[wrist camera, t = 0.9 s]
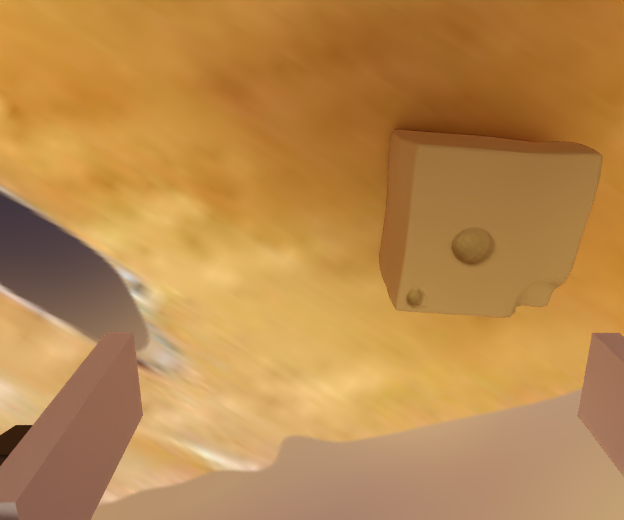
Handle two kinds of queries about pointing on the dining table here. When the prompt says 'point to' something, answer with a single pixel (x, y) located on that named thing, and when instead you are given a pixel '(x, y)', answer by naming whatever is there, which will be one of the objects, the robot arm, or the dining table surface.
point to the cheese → (482, 221)
